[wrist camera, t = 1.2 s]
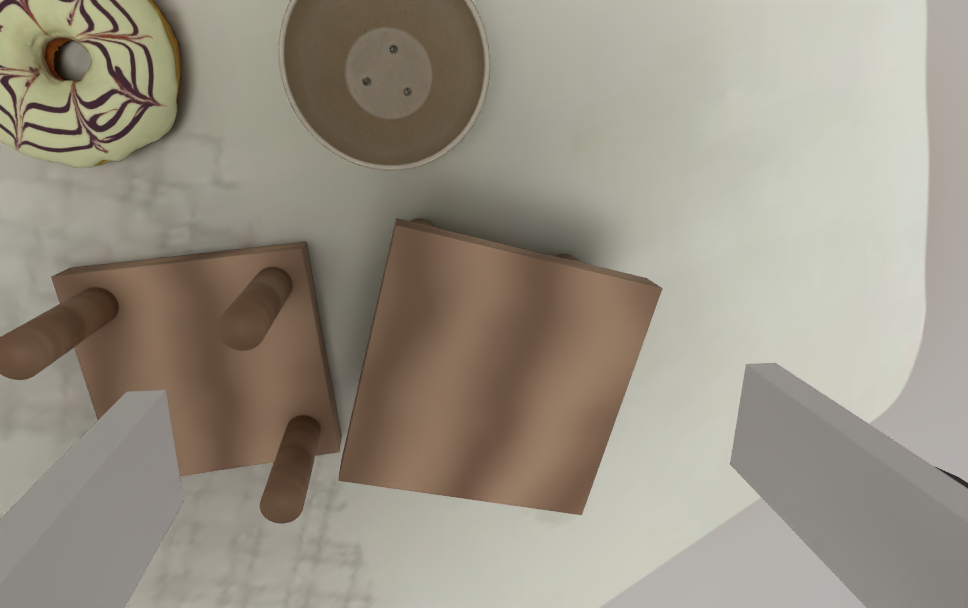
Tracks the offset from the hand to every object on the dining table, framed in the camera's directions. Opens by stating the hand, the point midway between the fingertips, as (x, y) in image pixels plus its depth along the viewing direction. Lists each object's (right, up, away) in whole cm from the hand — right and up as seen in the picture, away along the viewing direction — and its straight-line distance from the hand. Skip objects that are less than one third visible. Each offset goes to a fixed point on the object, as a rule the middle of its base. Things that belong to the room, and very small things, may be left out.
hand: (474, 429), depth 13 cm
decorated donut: (-22, +16, +19) cm, 33 cm away
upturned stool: (-17, -1, +25) cm, 30 cm away
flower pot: (-5, +17, +22) cm, 28 cm away
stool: (0, +2, +27) cm, 27 cm away
